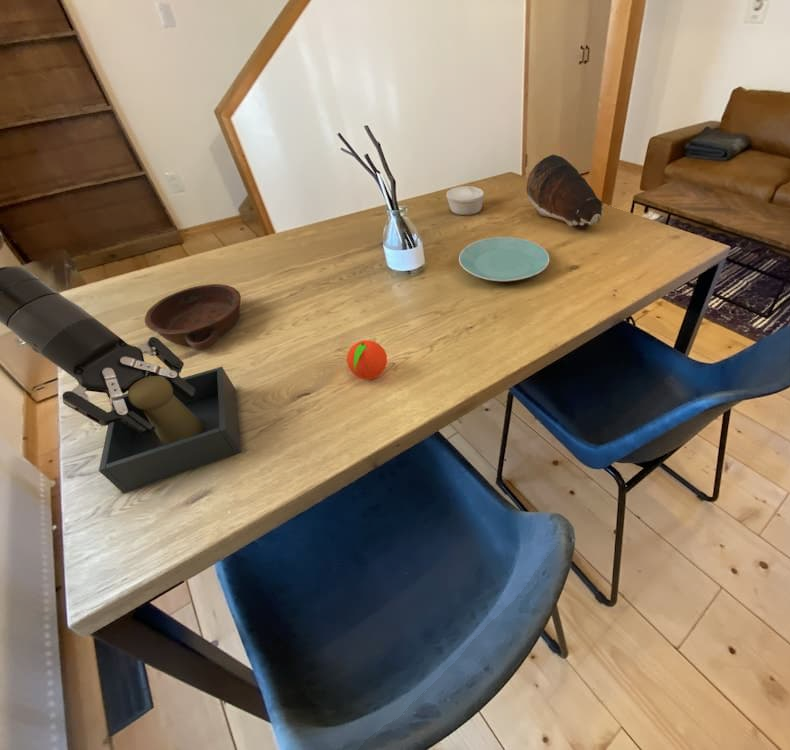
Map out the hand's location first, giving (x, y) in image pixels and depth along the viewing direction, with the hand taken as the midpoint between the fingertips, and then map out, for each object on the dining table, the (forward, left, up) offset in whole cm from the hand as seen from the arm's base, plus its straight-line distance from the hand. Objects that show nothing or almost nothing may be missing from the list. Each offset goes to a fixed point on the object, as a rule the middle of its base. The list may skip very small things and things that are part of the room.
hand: (173, 413), depth 65 cm
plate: (+69, +25, -6) cm, 74 cm away
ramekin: (+75, +62, -6) cm, 98 cm away
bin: (-1, +1, -6) cm, 6 cm away
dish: (+2, +33, -6) cm, 34 cm away
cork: (-1, +1, -6) cm, 6 cm away
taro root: (+98, +41, -6) cm, 106 cm away
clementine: (+29, +1, -6) cm, 30 cm away
